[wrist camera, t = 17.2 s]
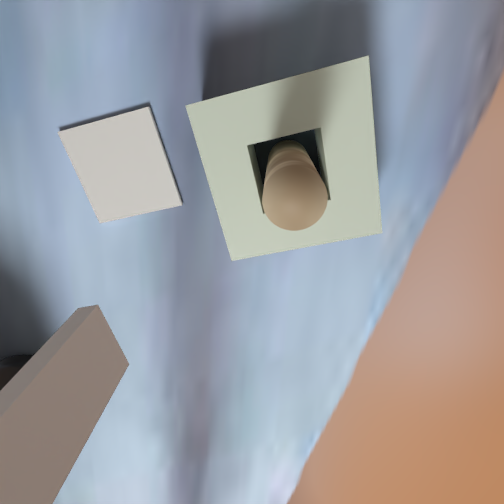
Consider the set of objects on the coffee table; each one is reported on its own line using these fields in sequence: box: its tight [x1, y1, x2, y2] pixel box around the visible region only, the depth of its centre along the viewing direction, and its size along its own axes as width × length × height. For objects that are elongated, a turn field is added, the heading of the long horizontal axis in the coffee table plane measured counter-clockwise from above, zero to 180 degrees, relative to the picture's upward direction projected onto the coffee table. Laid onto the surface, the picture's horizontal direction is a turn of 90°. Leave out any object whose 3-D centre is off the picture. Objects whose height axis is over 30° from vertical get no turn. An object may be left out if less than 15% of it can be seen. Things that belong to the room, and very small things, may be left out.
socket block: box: [186, 56, 382, 261], centre depth 30 cm, size 14×14×6 cm
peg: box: [262, 140, 328, 231], centre depth 26 cm, size 4×4×14 cm
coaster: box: [58, 107, 183, 223], centre depth 34 cm, size 10×10×1 cm
